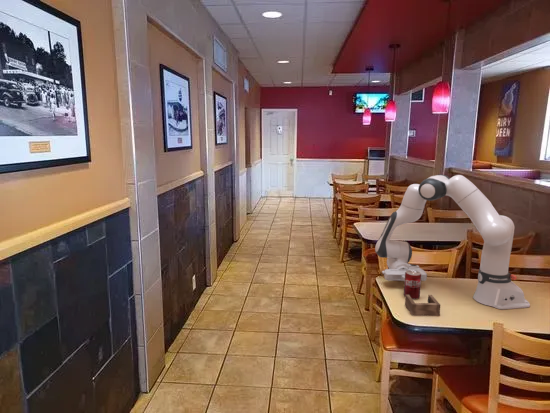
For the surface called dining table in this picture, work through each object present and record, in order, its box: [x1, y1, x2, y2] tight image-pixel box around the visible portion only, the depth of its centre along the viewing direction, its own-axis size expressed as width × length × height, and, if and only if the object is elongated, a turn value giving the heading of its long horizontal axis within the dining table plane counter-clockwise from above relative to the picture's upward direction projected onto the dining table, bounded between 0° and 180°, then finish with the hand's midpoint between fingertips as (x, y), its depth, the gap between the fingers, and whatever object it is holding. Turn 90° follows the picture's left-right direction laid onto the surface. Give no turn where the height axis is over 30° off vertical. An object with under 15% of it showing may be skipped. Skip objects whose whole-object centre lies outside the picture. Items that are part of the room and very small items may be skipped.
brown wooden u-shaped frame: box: [404, 294, 441, 317], centre depth 166 cm, size 12×10×5 cm
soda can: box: [403, 270, 422, 301], centre depth 179 cm, size 7×7×12 cm
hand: (409, 281), depth 183 cm, fingers closed
